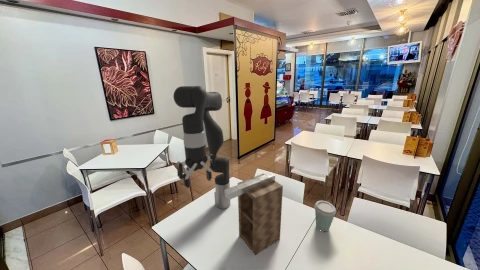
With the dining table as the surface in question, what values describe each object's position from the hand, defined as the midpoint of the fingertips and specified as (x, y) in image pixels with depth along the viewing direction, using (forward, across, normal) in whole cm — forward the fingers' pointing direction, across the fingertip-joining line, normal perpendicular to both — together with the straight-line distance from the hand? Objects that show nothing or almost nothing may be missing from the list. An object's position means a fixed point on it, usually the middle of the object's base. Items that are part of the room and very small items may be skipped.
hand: (198, 183), depth 75 cm
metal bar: (+10, +24, -1) cm, 27 cm away
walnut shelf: (+42, +30, -1) cm, 52 cm away
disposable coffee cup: (+42, +62, -16) cm, 77 cm away
